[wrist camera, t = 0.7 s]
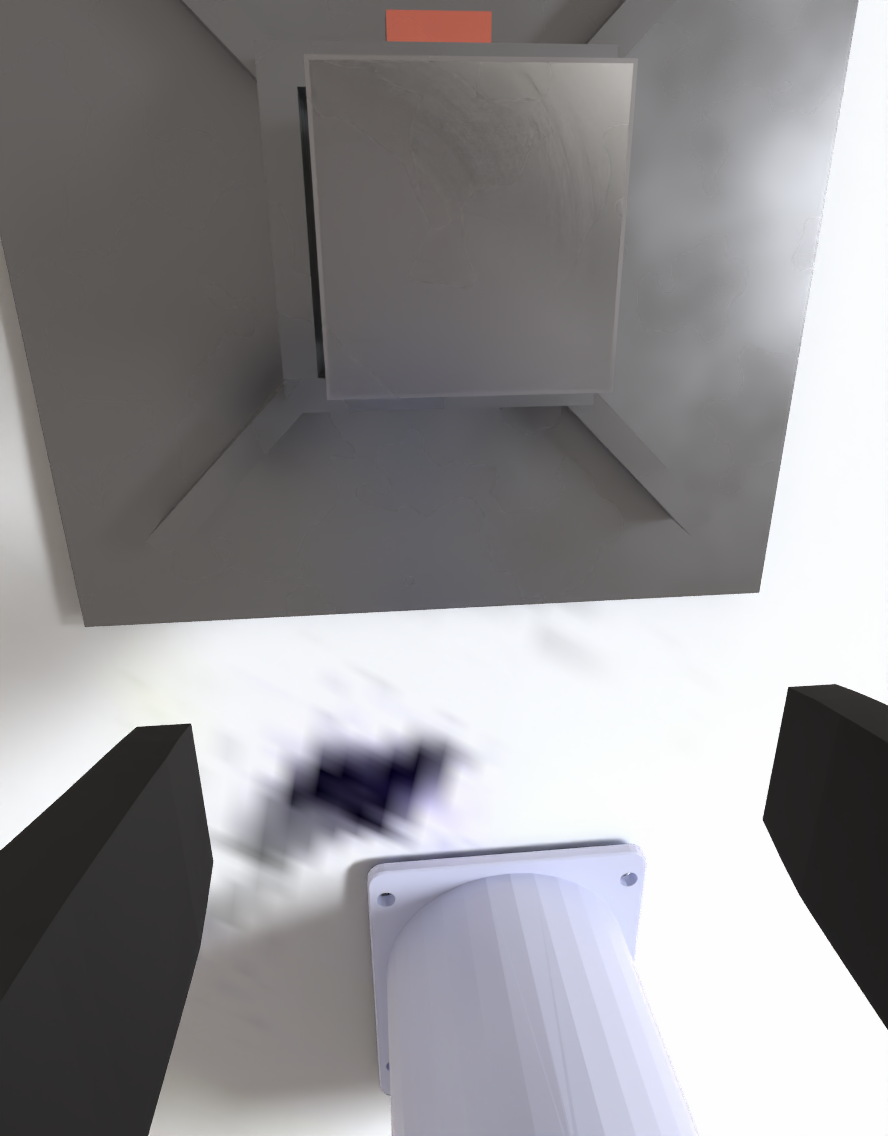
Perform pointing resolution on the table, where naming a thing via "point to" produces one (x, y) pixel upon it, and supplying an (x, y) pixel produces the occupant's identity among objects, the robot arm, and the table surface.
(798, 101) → the stand base
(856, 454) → the table surface
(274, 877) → the table surface
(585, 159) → the grey rectangular block
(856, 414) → the table surface
